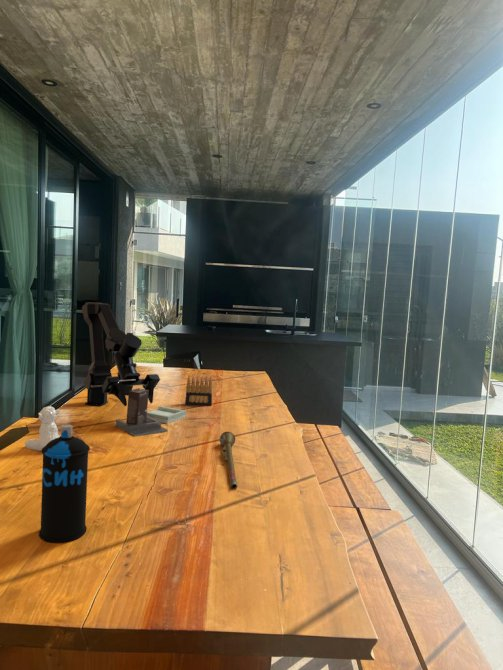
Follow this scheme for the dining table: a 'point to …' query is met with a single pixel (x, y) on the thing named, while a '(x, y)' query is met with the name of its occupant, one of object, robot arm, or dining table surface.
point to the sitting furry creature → (45, 429)
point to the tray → (167, 414)
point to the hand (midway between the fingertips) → (139, 404)
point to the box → (137, 406)
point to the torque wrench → (229, 455)
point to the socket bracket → (142, 427)
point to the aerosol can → (64, 488)
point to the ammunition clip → (199, 392)
